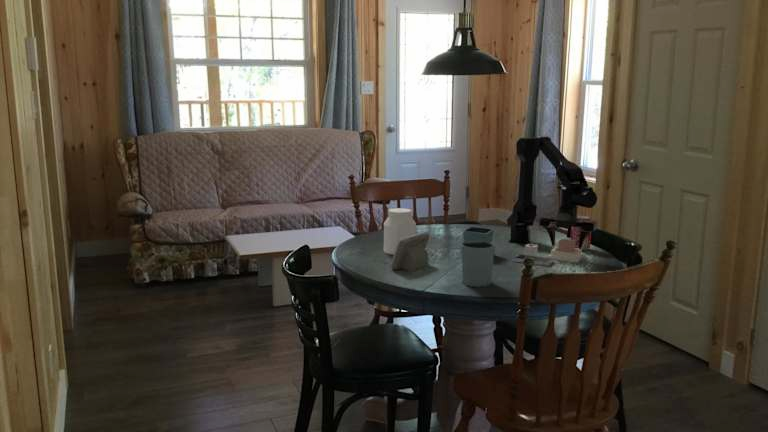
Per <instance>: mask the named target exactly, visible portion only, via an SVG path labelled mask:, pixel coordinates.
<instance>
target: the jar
mask: <svg viewBox="0 0 768 432" xmlns="http://www.w3.org/2000/svg"><path fill="white" fill-rule="evenodd" d="M387 212H388V216H387V217H386V220H384V222H383V252H384V253H385V254H387V255H392V256H394V253H395V250H396V247H397V244H398V242H399V240H400V239H403V238H406V237H409V236H412V235H415V234H417V233H416V229H417V223H416V222H415V220H414V219H413V217H412V209H410V208H402V207H398V208H397V207H396V208H390V209H388V211H387Z"/></svg>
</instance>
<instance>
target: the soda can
mask: <svg viewBox="0 0 768 432" xmlns="http://www.w3.org/2000/svg"><path fill="white" fill-rule="evenodd" d="M585 220H591V216H590V215H589V216H588V215H584V214H583V215H581V214H580V215H579V214H577V221H578V222H583V221H585ZM570 229H571V230H570V240H575V248H579V243H580V237H581V231H582V230H583V229H582V227H573V226H570ZM591 238H592V232H591V233H588V235H587V237H586V239H585V241H584V243H583V245H582V248H581V249H582V250H584V251H587V250H588V249H590V248H591Z"/></svg>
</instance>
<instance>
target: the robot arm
mask: <svg viewBox="0 0 768 432" xmlns="http://www.w3.org/2000/svg"><path fill="white" fill-rule="evenodd" d="M515 146H516V147H515V148H516V155H517V157H518V159H519V161H520V165H519V179H518V195H517V196H518V197H517V200H516V202H515V203H514V205H513V208H512V213H511V215H510V216H509V217H508V218H507V219H506V223H507V227H508V226H509V227H510V239H509V240H508V242H509V243H518V244H525V245H526V244H527V243H528V242H530V241H531V229H530V226H531V227H533V226H534V223H535V220H536V216H538V215H537V214H538V213H537V209H538V207H537V205H536V204H534V202H533V200H532V199H533V197H532V196H533V188H534V187H533V186H534V184H533V182H534V168H535V161H536V160H537V158H538V156H540V152H541V153H542V155H544V157H545V158H546V159H547V160H548V161H549V162H550V164H551V165H552V166H553V168H554V169H555V174H556V175H555V176H556V177H557V179H558V180H559V182H560V184H559V185H558V186H556V188H557V189H558V190H560V206H559V210H558V213H557V215H556V216H552V215H544V216H542V217H540V218H539V221H538V225H539V226H540V227H542V228H543V229H545V231H547V233H548V236H549V238H550V239H549V240H550V242H551V246H552V247H555V244H556V228H558V229H559V228H562V229H566V230H567V229H571V226H573V227H582V229H583V230H582V231H581V237H580V243H579V249H581V248H582V245H583V243H584V241H585V239H586V237H587V235H588V233H591V234H592V232H595V231H596V230H597V229H598V222H597V220H593V219H590V220H585V221H583V222H578V221H577V215H578V209H579V207H583V208H587V209H592V208H593V207H595V206H596V204H597V202H598V196H597V193H596V192H595V191H594V188H593V187H591V186H589V184H588V181H587V179H586V177H585V175H584V172H583V169H582V168H581V167H580V166H579V165H578V164H576V163H575V162H572V161H570V160H568V159H567V157H566V156H564V154H563V153H562V152H561V151H560V150H559V149H558V147H557V146H556V145H555V144H554V142H552V139H551V137H550V136H537V137H521V138H519V139H518V140H516V145H515Z"/></svg>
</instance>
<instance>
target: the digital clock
mask: <svg viewBox="0 0 768 432" xmlns="http://www.w3.org/2000/svg"><path fill="white" fill-rule="evenodd" d="M429 239H430V234H429V232H428V231H423V232H419V233H416V234H415V235H412V236H409V237H406V238H403V239H400V240H399V242H398V244H397V247H396V250H395V253H394V255H392V256H393V257H392V259H391V263H390V268H391V269H392V270H399V269H402V270H407V271H411V272H412V271H413V272H414V271H416V270H419V269H421V268H424V267H426V266H428V265H429V252H428V251H427V250H426V248H427V244H428V242H429Z"/></svg>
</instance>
